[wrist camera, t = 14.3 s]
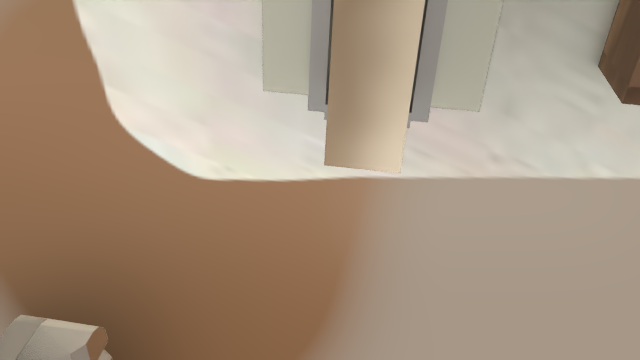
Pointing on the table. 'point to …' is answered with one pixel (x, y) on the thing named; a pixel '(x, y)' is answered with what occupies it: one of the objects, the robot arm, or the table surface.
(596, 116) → the table surface
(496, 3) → the grey stand
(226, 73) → the table surface
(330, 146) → the pale wooden block
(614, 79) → the walnut rack
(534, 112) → the table surface
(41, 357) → the robot arm
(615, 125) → the table surface
